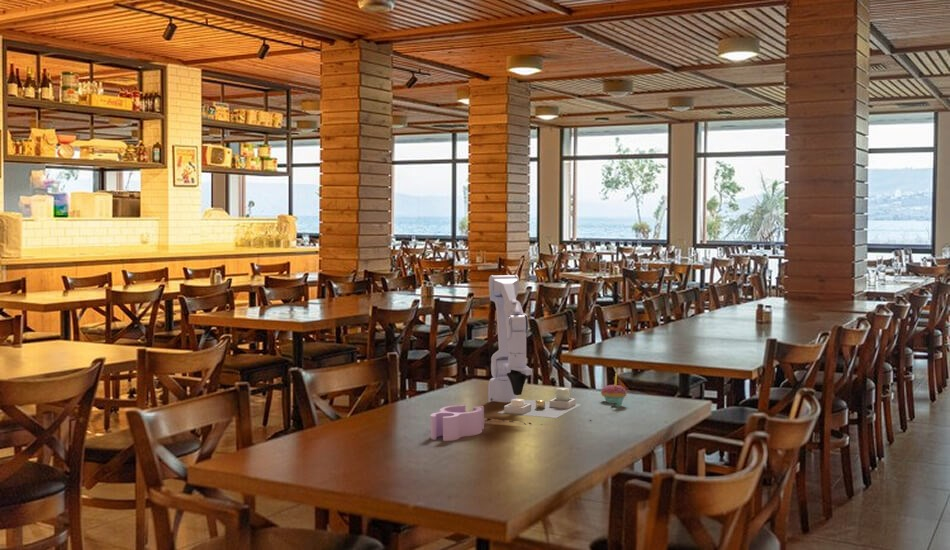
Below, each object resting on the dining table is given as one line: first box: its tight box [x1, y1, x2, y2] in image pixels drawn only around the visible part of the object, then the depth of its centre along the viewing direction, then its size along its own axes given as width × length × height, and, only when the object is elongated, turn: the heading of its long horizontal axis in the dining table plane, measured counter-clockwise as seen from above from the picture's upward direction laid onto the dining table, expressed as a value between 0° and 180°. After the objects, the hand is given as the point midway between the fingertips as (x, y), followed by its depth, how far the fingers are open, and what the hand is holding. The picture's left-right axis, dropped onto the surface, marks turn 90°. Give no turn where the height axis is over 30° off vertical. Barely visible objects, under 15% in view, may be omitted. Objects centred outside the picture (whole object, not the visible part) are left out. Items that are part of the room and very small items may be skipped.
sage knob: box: [555, 387, 570, 401], centre depth 325 cm, size 4×4×4 cm
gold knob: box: [535, 399, 546, 409], centre depth 321 cm, size 3×3×2 cm
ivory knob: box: [510, 398, 526, 407], centre depth 317 cm, size 4×4×4 cm
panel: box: [497, 397, 582, 419], centre depth 321 cm, size 20×24×4 cm
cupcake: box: [600, 370, 627, 408], centre depth 332 cm, size 9×8×12 cm
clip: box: [430, 403, 485, 442], centre depth 293 cm, size 20×12×7 cm, turn 150°
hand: (517, 394), depth 317 cm, fingers closed
